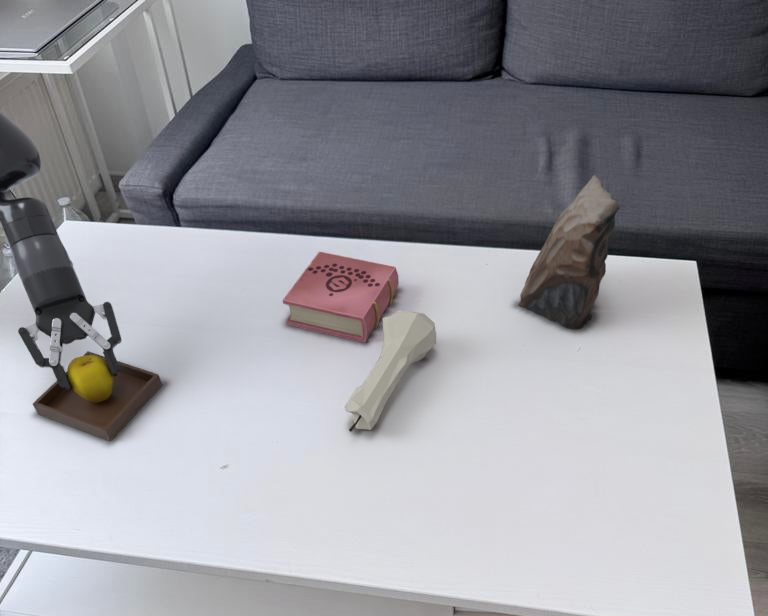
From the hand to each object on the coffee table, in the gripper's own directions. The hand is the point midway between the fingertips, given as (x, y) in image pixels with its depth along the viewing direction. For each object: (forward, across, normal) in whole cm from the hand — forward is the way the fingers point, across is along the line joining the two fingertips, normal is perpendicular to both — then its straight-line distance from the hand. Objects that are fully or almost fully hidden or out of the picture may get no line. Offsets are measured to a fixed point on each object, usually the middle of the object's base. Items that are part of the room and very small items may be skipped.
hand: (92, 382), depth 112 cm
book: (+1, +43, +6) cm, 43 cm away
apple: (+2, 0, +4) cm, 5 cm away
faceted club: (+16, +41, -8) cm, 44 cm away
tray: (+2, 0, +4) cm, 5 cm away
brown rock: (+12, +75, -5) cm, 76 cm away
